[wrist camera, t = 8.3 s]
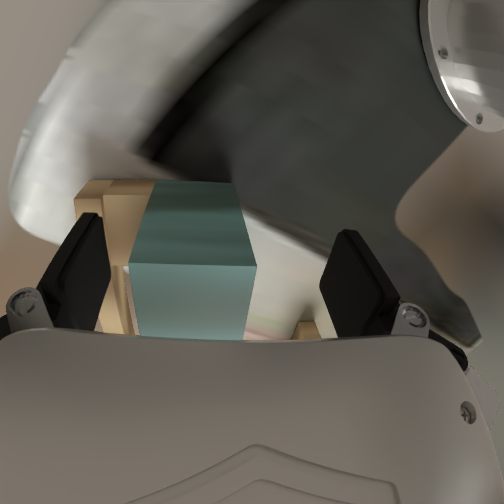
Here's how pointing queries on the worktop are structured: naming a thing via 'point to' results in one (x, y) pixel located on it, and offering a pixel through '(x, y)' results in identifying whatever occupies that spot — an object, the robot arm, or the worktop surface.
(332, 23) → the worktop surface
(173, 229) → the tan frame
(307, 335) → the broken strip
